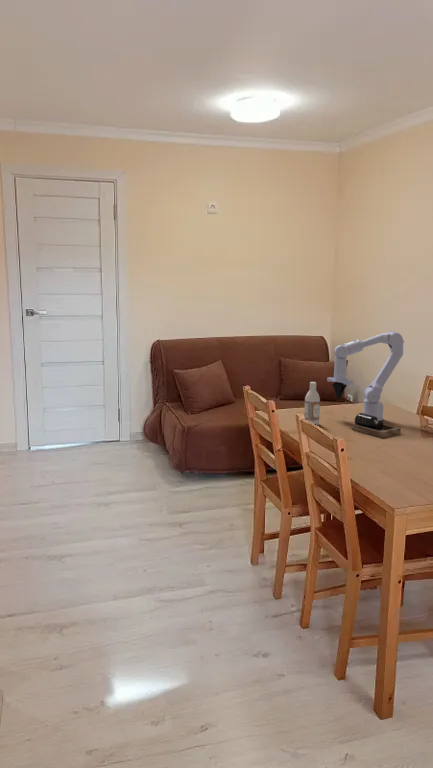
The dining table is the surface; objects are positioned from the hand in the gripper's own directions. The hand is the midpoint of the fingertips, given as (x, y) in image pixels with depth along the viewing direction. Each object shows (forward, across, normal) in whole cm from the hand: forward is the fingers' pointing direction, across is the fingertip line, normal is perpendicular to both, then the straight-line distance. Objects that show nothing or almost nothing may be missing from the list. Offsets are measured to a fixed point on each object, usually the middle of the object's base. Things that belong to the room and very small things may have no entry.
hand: (338, 398), depth 284 cm
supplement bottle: (+6, +17, -5) cm, 19 cm away
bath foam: (+11, 0, -18) cm, 21 cm away
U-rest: (+10, +26, -4) cm, 28 cm away
